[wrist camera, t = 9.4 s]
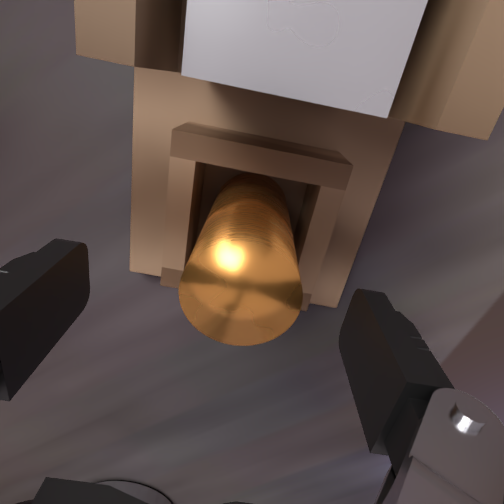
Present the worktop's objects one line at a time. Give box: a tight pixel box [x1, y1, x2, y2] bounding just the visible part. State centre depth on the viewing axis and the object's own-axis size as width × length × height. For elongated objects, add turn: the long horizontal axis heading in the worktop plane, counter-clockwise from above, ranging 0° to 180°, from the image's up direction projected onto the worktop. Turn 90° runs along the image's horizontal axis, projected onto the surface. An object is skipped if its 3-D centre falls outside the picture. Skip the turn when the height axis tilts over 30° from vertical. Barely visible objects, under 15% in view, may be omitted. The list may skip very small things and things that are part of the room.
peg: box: [179, 172, 303, 346], centre depth 13 cm, size 4×4×8 cm
